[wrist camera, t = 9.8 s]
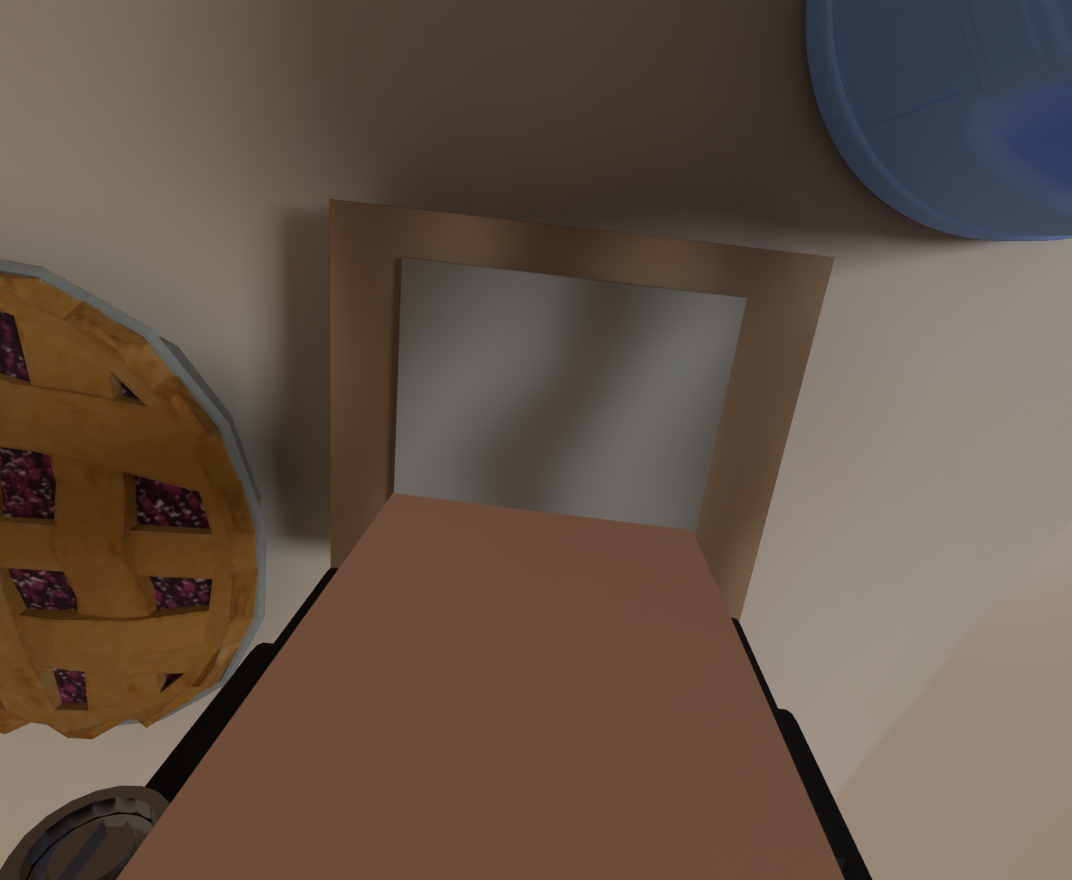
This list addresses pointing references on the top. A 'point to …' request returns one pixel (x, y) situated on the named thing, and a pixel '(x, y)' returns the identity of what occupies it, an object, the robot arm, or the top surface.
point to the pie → (115, 518)
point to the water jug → (952, 109)
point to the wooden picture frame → (564, 374)
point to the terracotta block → (501, 720)
